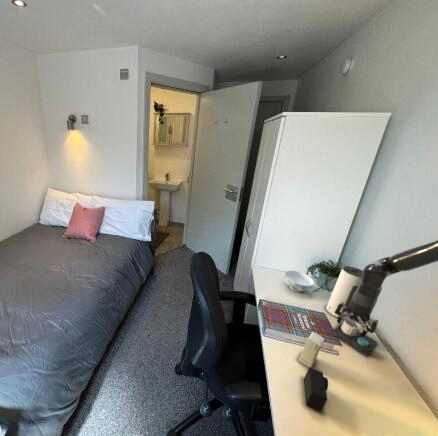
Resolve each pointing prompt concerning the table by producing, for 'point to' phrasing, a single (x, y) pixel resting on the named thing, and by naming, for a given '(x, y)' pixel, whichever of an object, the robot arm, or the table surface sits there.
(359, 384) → the table surface
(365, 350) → the scale
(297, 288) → the chinaware
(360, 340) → the tare button
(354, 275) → the speaker
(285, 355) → the table surface
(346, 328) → the white tape roll
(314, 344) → the cosmetic box
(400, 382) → the table surface
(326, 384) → the digital camera
